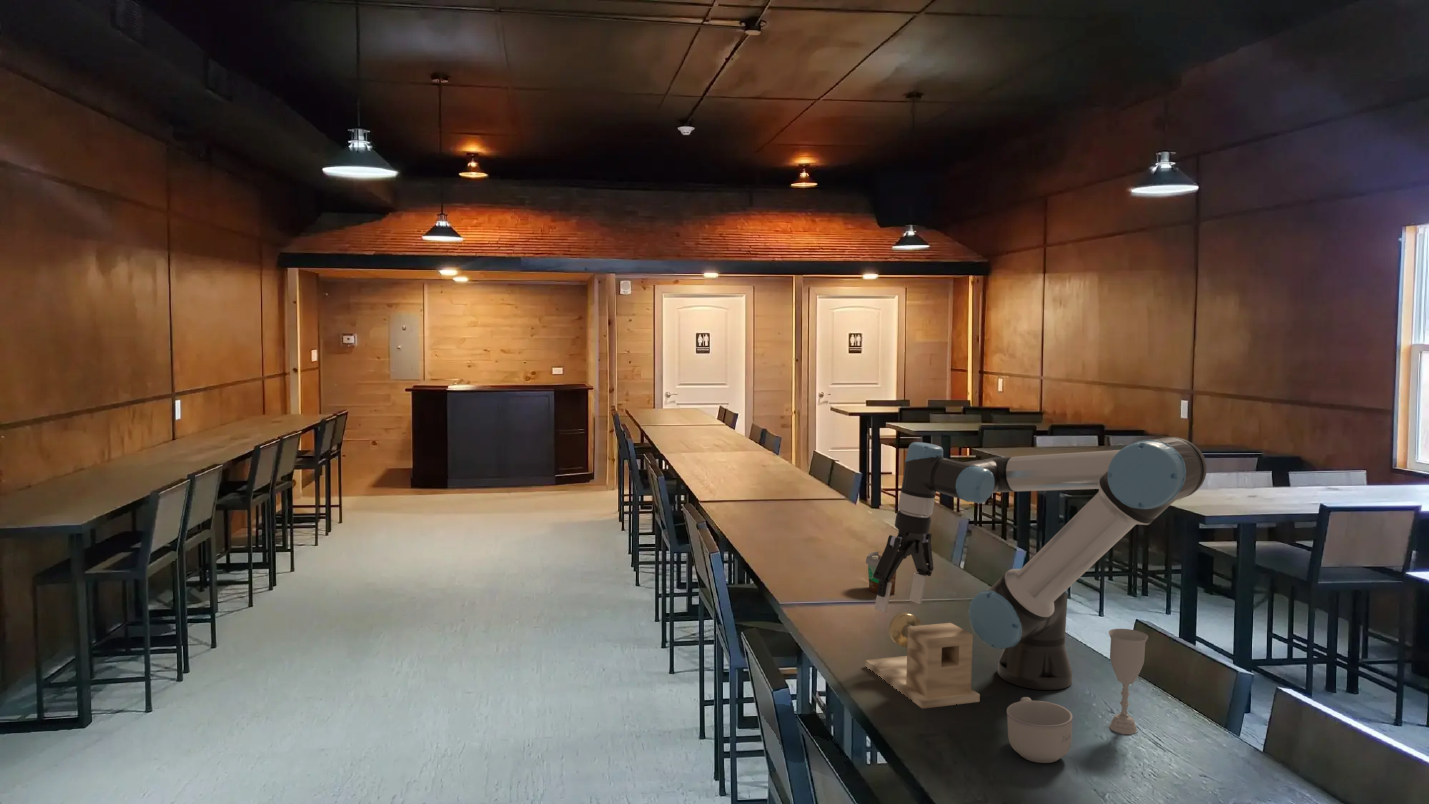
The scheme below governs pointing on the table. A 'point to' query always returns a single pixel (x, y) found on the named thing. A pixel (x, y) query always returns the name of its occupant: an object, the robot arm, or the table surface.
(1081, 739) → the table surface
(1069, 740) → the teacup
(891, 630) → the shaft
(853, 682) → the table surface
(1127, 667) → the chalice
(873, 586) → the food container
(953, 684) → the bearing stand
